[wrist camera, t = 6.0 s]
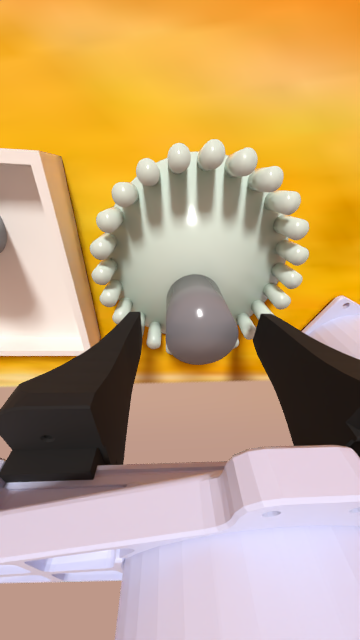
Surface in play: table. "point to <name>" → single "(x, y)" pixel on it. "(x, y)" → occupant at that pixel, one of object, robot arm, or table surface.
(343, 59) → the table surface
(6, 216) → the parts tray
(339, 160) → the table surface
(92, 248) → the celadon bowl
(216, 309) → the pebble charcoal
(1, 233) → the pebble slate
